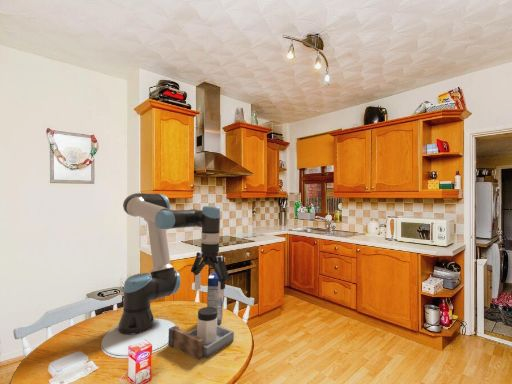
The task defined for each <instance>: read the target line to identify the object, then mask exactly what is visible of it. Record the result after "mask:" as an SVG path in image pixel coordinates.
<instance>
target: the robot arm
mask: <svg viewBox="0 0 512 384" xmlns="http://www.w3.org/2000/svg"><path fill="white" fill-rule="evenodd" d="M122 207H123V211H124V212H125V213H126V214H128V215H129V216H130V217H131V216H132V217H140V218H142V219H143V220H144V221H145V222H146V223H147V228H148V235H149V244H150V245H149V247H150V254H151V261H152V269H151V270H150V273H148V272H141V273H136V274H133V275H130V276H129V277H128V278H126V280H125V281H124V285H123V286H124V287H123V311H122V314H121V317H120V318H119V322H118V329H117V330H118V331H119V332H120V333H122V334H124V333H125V335H132V334H131V333H136V334H140V333H139V332H141V333H143V331H144V332H146V331H148V330H151V328H153V326H154V323H155V319H154V315H153V313H152V308H151V301H154V300H157V299H161V298H165V297H169V296H171V295H174V294H176V293H177V292H178V291H179V290H180V287H181V282H182V281H181V280H182V279H181V275H180V273H179V271H178V270H176V269H175V266H173V265H172V264H171V257H170V250H169V244H168V237H167V230H171V229H181V228H182V229H183V228H194V227H195V228H201V243H200V251H198V252H196V256H195V259H194V261H193V264H192V267H191V269H190V272H191V273H193V275H194V276H193V282H194V291H198V290H199V291H200V290H201V284H202V279H201V278H202V274H201V272H202V270H203V269H204V267H205V266H207V265H208V266H211V268H213V270H214V272H216V274H217V276H218V278H219V280H220V281H218V298H220V297H223V296H224V297H225V289H226V281H229V280H230V278H231V277H230V275H229V273H228V269H227V267H226V266H227V265H226V262H225V257H224V255H221V256H220V255H219V251H220V243H219V242H220V231H221V230H220V229H221V227H220V226H221V224H220V223H221V209H220V207H219V206H218V205H217V206H216V205H214V206H213V205H212V206H211V205H207V206H206V205H205V206H202V210H201V209H196V208H194V209H193V208H191V209H179V210H178V209H176V210H175V209H171V203H170V200H169V198H168V197H167V196H166V195H165V194H164V193H163V194H162V193H142V192H141V193H140V192H136V193H132V194H130V195H128V196H127V197H126V198H125V199H124V200H123V203H122Z"/></svg>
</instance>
